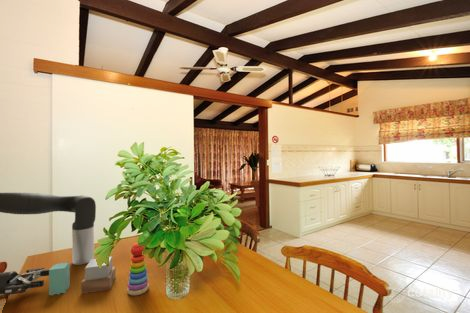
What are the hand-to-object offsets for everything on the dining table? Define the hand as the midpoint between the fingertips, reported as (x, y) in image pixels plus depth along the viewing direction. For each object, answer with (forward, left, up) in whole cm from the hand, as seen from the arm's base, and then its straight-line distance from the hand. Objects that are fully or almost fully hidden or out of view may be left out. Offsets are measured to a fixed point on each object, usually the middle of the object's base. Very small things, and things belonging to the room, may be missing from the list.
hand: (49, 277), depth 90 cm
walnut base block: (0, +18, -6) cm, 19 cm away
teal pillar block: (0, +4, -6) cm, 7 cm away
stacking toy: (+9, +34, -6) cm, 35 cm away
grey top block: (0, +18, -1) cm, 18 cm away
